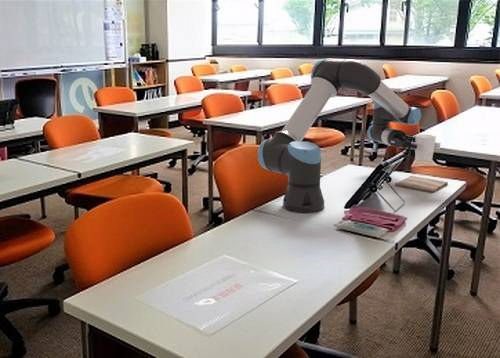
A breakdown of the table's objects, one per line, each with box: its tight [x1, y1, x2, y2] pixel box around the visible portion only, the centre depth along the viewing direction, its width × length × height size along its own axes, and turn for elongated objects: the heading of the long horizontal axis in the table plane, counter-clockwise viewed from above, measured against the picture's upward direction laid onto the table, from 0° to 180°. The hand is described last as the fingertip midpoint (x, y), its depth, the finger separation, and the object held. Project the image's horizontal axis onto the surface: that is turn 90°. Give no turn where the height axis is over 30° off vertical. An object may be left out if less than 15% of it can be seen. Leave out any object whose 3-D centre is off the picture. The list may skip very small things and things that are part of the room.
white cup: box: [414, 133, 437, 163], centre depth 209 cm, size 8×8×10 cm
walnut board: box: [394, 175, 449, 194], centre depth 213 cm, size 16×16×1 cm
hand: (431, 147), depth 206 cm, fingers closed on white cup, 8 cm apart
